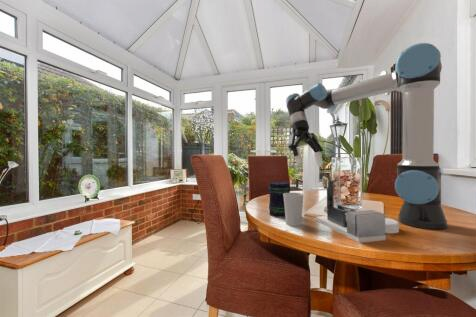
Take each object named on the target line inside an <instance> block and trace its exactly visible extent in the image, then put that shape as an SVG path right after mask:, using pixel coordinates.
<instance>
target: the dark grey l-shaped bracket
mask: <svg viewBox="0 0 476 317" xmlns="http://www.w3.org/2000/svg"><path fill="white" fill-rule="evenodd" d="M334 183H335V181H334V180H330V179H329V180H326V206H325V207H324V208H323V212H324V214H327V206H332V207H335V206H334V202H335V199H334V198H335V197H334V196H335V195H334V194H335V193H334V191H335V190H334V189H335V188H334V186H335V185H334ZM345 221H346V222H347V213H345Z"/></svg>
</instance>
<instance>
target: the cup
mask: <svg viewBox="0 0 476 317" xmlns="http://www.w3.org/2000/svg"><path fill="white" fill-rule="evenodd" d="M283 196H284V206H285V217H284V218H285V225H287V226H290V227H300V226H302V225H303V222H302V220H303V206H304V205H303V204H304V194H303V193H300V192H290V193H284V194H283Z"/></svg>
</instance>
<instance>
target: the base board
mask: <svg viewBox="0 0 476 317" xmlns="http://www.w3.org/2000/svg"><path fill="white" fill-rule="evenodd" d="M315 221H316V222H318V223H320V224H322V225H324V226H325V227H328V228H329V229H332V230H334V231H335V232H337V233H339V234H340V235H343V236H344V237H347V238H348V239H350V240H353V241H354V242H356V243H358V244H359V243H360V244H362V243H370V242H381V241H386V240H387V235H386V234H385V235H383V236H373V237H363V238H357V236H356V237H355V236H353V235H351V234H349V233H347V227H342V226H340V225H337V224H335V223H333V222H331V221H329V220H327V215H324V216H323V215H321V216H315Z"/></svg>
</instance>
